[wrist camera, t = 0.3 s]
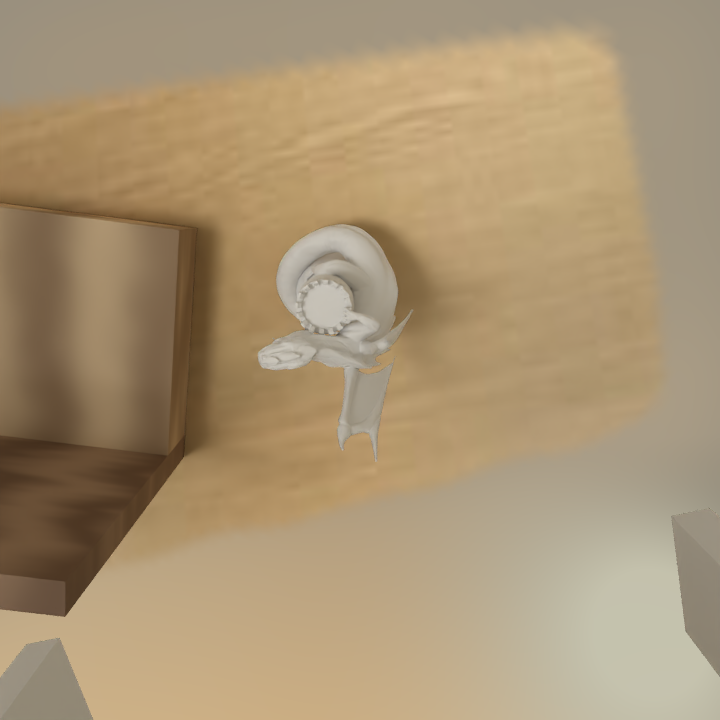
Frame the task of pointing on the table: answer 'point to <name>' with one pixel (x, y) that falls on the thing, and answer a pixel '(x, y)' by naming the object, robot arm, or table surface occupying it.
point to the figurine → (340, 318)
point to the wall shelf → (85, 390)
